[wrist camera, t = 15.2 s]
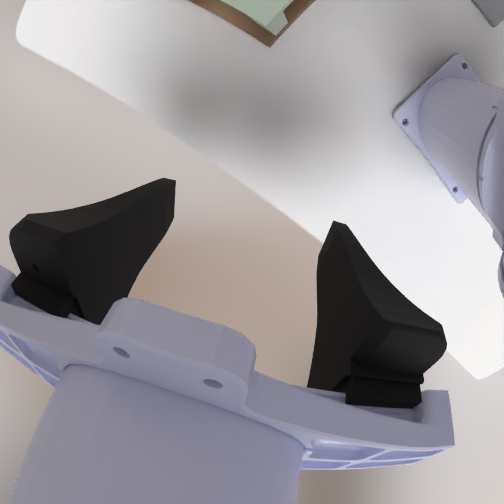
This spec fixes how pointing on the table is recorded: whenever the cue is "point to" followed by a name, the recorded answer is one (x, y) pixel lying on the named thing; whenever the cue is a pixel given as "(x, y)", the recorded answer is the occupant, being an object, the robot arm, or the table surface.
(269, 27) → the cover
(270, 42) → the board
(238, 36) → the table surface
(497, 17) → the mat
